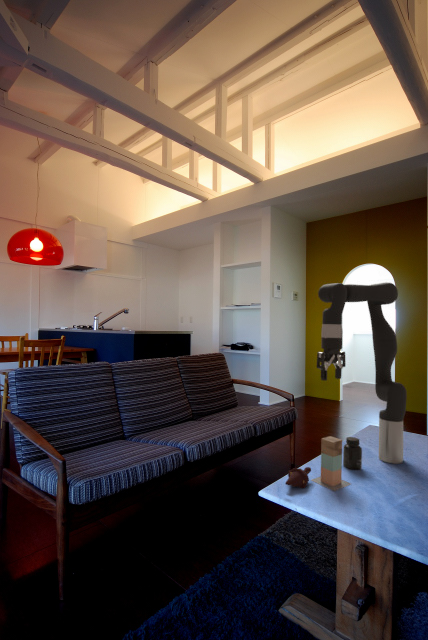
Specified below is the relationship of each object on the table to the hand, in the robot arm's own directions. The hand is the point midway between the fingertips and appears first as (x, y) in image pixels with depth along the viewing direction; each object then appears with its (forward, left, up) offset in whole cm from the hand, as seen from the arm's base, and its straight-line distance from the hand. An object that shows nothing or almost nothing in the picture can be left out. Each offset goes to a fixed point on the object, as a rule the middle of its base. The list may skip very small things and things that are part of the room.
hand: (331, 379), depth 133 cm
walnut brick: (+6, +5, -25) cm, 26 cm away
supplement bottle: (-13, +1, -36) cm, 39 cm away
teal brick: (+6, +5, -30) cm, 31 cm away
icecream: (+18, 0, -36) cm, 41 cm away
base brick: (+6, +5, -35) cm, 36 cm away
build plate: (+6, +5, -36) cm, 37 cm away
